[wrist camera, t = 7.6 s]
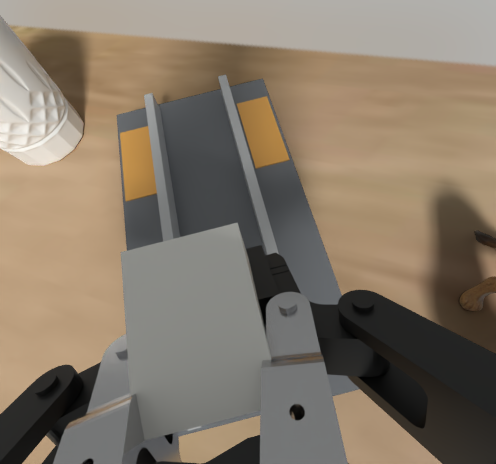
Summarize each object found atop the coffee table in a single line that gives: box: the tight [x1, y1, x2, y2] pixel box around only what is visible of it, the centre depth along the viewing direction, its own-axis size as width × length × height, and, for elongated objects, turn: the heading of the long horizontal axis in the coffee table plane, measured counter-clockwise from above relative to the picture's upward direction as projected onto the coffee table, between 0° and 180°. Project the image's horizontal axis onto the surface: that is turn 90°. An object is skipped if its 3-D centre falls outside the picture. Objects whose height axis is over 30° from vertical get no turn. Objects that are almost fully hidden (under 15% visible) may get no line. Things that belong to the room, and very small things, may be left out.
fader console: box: [117, 75, 360, 436], centre depth 17 cm, size 12×22×4 cm, turn 14°
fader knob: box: [121, 223, 271, 440], centre depth 10 cm, size 4×4×9 cm
